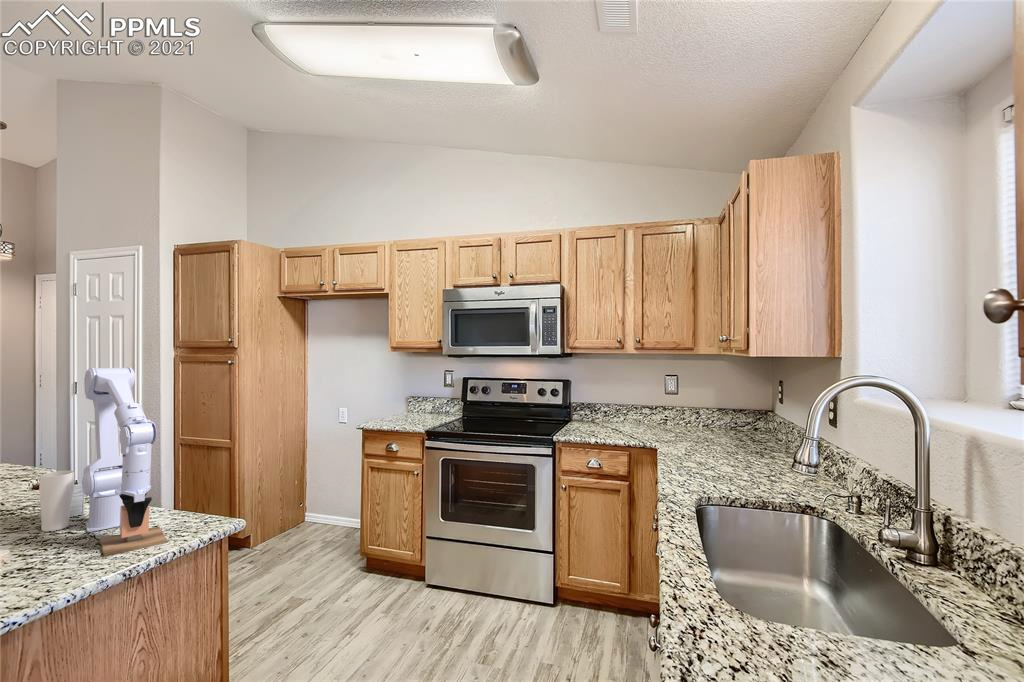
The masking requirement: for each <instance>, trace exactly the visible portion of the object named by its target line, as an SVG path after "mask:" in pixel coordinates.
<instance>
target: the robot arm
mask: <svg viewBox="0 0 1024 682" xmlns="http://www.w3.org/2000/svg"><path fill="white" fill-rule="evenodd" d="M135 381H136V374H135V371H134V369H133V367H131V366H128V367H97V368H96V367H88V369H86V372H85V375H84V381H83V382H84V383H83V385H84V395H85V398H86V399H88V400H90V401H92V403H93V407H94V427H95V428H94V429H95V432H94V433H95V453H96V455H95V456H96V458H95V460H93V461H92V462H90V463H89V464H87V466H85V468H83V473H82V475H83V476H82V480H81V484H82V490H83V493H84V494H85V495H86V496H87V497H89V508H88V509H89V510H88V520H87V521H85V526H86V532H87V533H92V532H96V531H97V532H98V531H102V530H106V529H107V530H108V529H112V528H117V527H118V528H120V509H121V506H125V507H126V510H127V513H128V519H129V524H130V527H131V528H134V527H139V526H141V525H142V522H143V519H144V515H145V512H146V509H147V507H148V505H149V506H150V504H151V502H152V501H153V497H151V496H149V497H146V496H147V494H148V492H149V491H150V490H151V489H152V485H151V472H152V471H151V470H152V469H151V468H152V446H153V444H155V442H156V439H157V437H158V436H157V435H158V432H157V431H158V430H157V426H156V424H155V422H153V421H152V420H151V419H147V416H146V414H145V411H144V409H143V407H142V405H141V404H139V403H137V402H135V400H134V396H133V392H132V390H133V386H134V385H135ZM118 427H119V429H120V430H119V429H118ZM118 430H119V431H118ZM119 444H120V447H119ZM119 448H120V449H119ZM120 454H122V456H121V455H120ZM102 469H103V470H102Z"/></svg>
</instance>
